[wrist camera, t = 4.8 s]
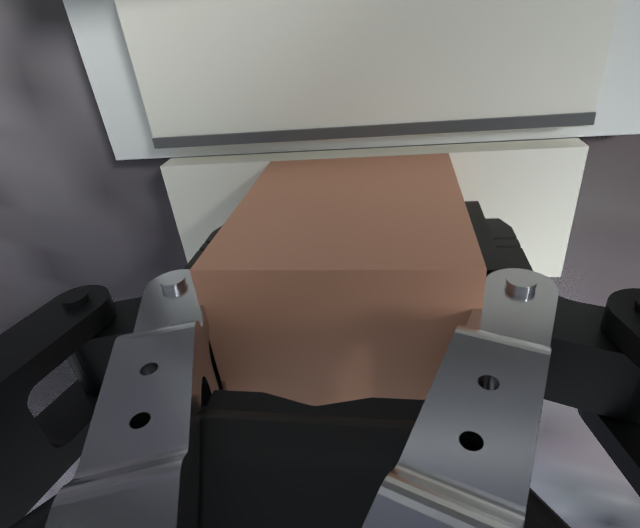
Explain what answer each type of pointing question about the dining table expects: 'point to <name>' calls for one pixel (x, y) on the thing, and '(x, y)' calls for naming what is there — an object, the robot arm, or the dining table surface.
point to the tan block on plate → (359, 256)
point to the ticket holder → (355, 72)
